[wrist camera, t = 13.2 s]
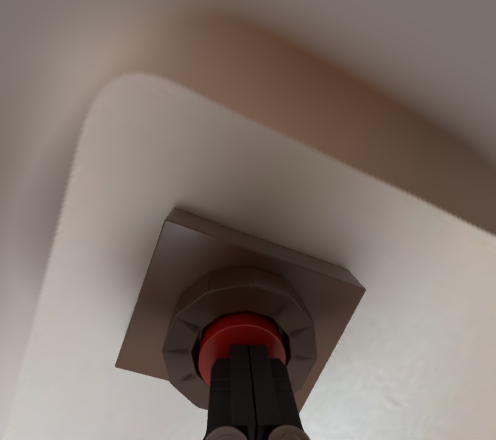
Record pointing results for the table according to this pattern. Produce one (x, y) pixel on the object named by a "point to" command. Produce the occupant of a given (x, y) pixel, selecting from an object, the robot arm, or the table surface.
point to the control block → (233, 303)
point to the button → (238, 338)
